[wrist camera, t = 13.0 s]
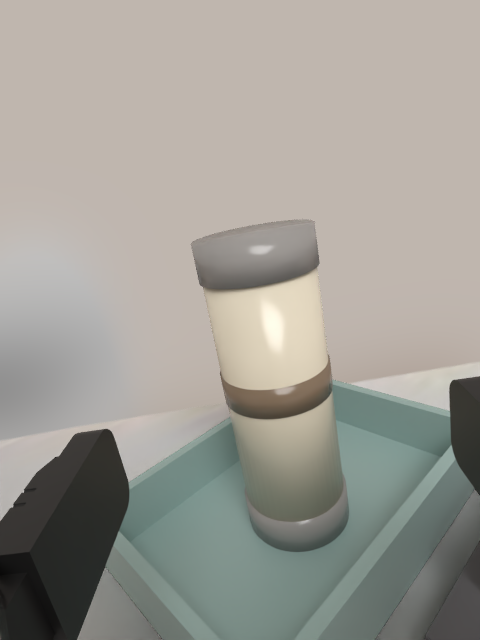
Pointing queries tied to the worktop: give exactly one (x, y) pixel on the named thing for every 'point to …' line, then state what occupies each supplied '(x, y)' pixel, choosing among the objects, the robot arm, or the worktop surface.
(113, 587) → the worktop surface
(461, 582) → the fuse holder
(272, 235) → the cylinder
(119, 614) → the worktop surface
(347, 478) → the parts tray
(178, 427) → the worktop surface
